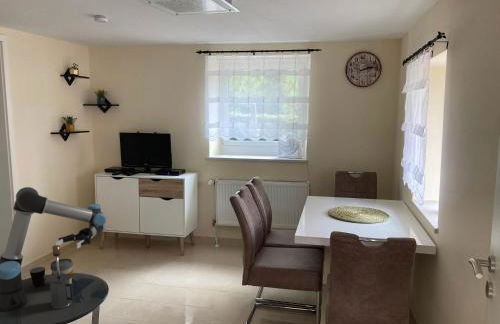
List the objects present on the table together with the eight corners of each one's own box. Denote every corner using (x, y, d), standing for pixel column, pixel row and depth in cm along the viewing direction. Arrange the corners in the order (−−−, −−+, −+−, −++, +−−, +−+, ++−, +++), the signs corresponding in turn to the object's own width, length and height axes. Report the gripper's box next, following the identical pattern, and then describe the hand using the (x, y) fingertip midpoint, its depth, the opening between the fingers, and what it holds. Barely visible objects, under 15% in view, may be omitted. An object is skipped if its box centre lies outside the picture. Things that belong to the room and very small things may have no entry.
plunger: (49, 286, 227) (45, 248, 224) (57, 280, 234) (54, 243, 231) (61, 287, 226) (57, 249, 222) (69, 281, 233) (66, 244, 229)
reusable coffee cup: (48, 287, 254) (45, 263, 252) (67, 279, 264) (65, 257, 262) (59, 292, 247) (57, 268, 245) (78, 284, 257) (76, 261, 255)
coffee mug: (40, 288, 252) (38, 273, 251) (27, 287, 254) (26, 272, 252) (52, 280, 264) (51, 265, 262) (41, 279, 265) (39, 264, 264)
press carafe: (47, 308, 228) (44, 281, 225) (59, 299, 238) (56, 273, 235) (67, 310, 225) (65, 282, 223) (79, 301, 235) (76, 274, 233)
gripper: (106, 240, 253) (86, 253, 233) (69, 238, 258) (46, 250, 237) (105, 228, 252) (85, 240, 232) (68, 226, 257) (45, 238, 236)
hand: (66, 245), depth 234 cm, fingers open, 13 cm apart
